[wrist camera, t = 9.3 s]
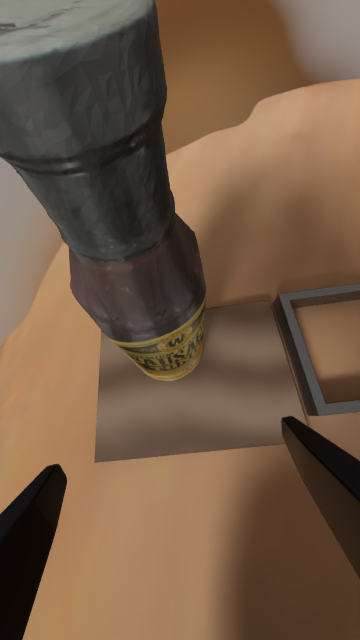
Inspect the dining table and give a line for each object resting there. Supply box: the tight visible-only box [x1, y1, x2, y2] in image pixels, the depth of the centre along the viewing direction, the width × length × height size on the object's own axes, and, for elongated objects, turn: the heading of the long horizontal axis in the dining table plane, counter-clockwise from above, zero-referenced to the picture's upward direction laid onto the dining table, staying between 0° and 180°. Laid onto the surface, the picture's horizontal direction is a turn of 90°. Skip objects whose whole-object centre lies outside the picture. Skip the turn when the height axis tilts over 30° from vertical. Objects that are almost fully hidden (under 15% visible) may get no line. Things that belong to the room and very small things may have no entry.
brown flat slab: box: [95, 300, 307, 463], centre depth 21 cm, size 13×18×1 cm
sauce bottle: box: [0, 0, 206, 381], centre depth 13 cm, size 7×6×20 cm
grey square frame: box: [273, 283, 360, 416], centre depth 20 cm, size 11×11×2 cm
